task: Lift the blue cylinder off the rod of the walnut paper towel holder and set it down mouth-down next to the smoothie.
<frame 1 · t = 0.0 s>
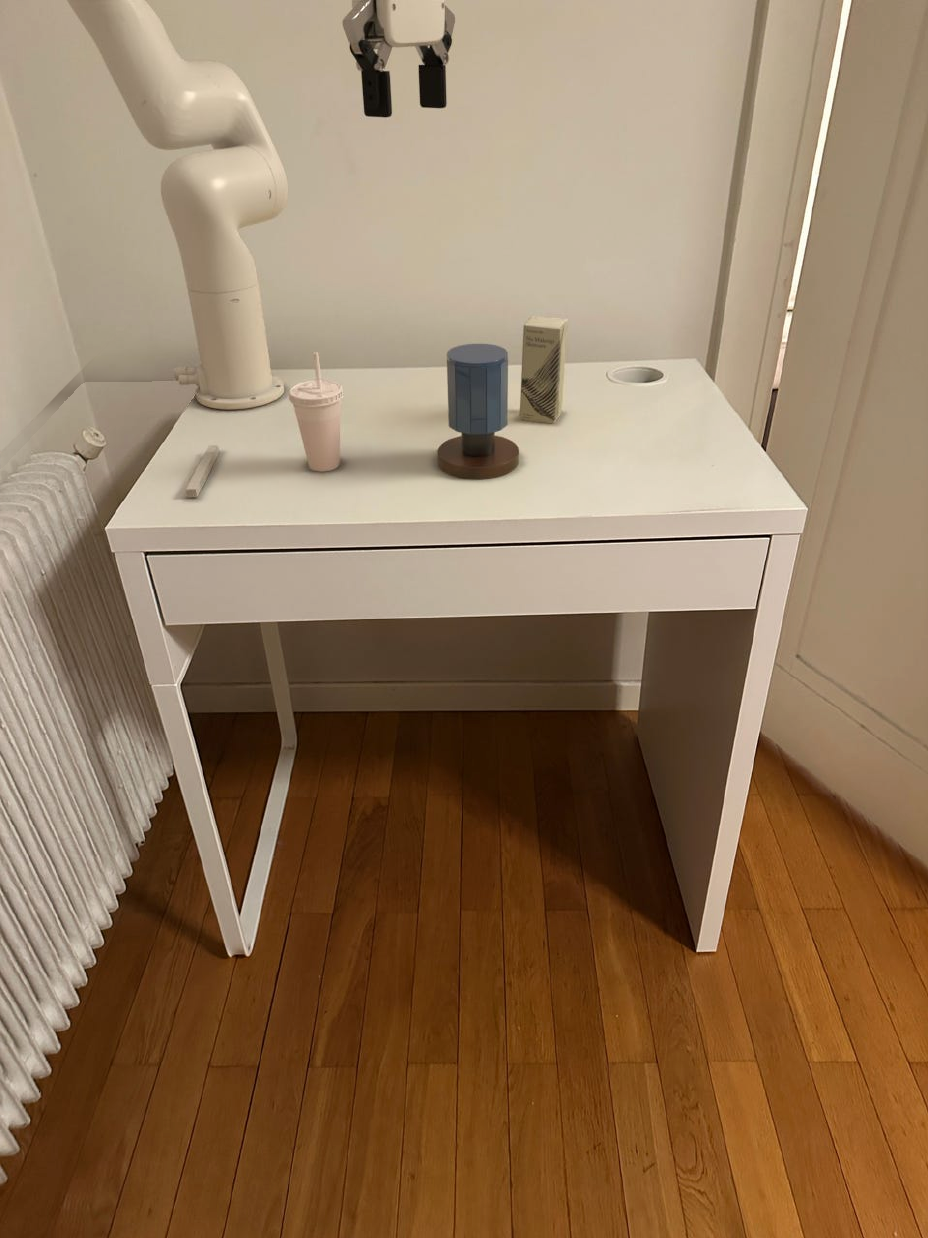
hand: (406, 111, 95), 37 cm above the table, tool pointing down, fingers open, 9 cm apart
box: (541, 417, 123), on the table
smoothie: (324, 466, 111), on the table
grey long thin bar: (204, 475, 109), on the table
blue cylinder: (477, 423, 108), point 5 cm above the table, touching towel holder
towel holder: (478, 461, 111), on the table
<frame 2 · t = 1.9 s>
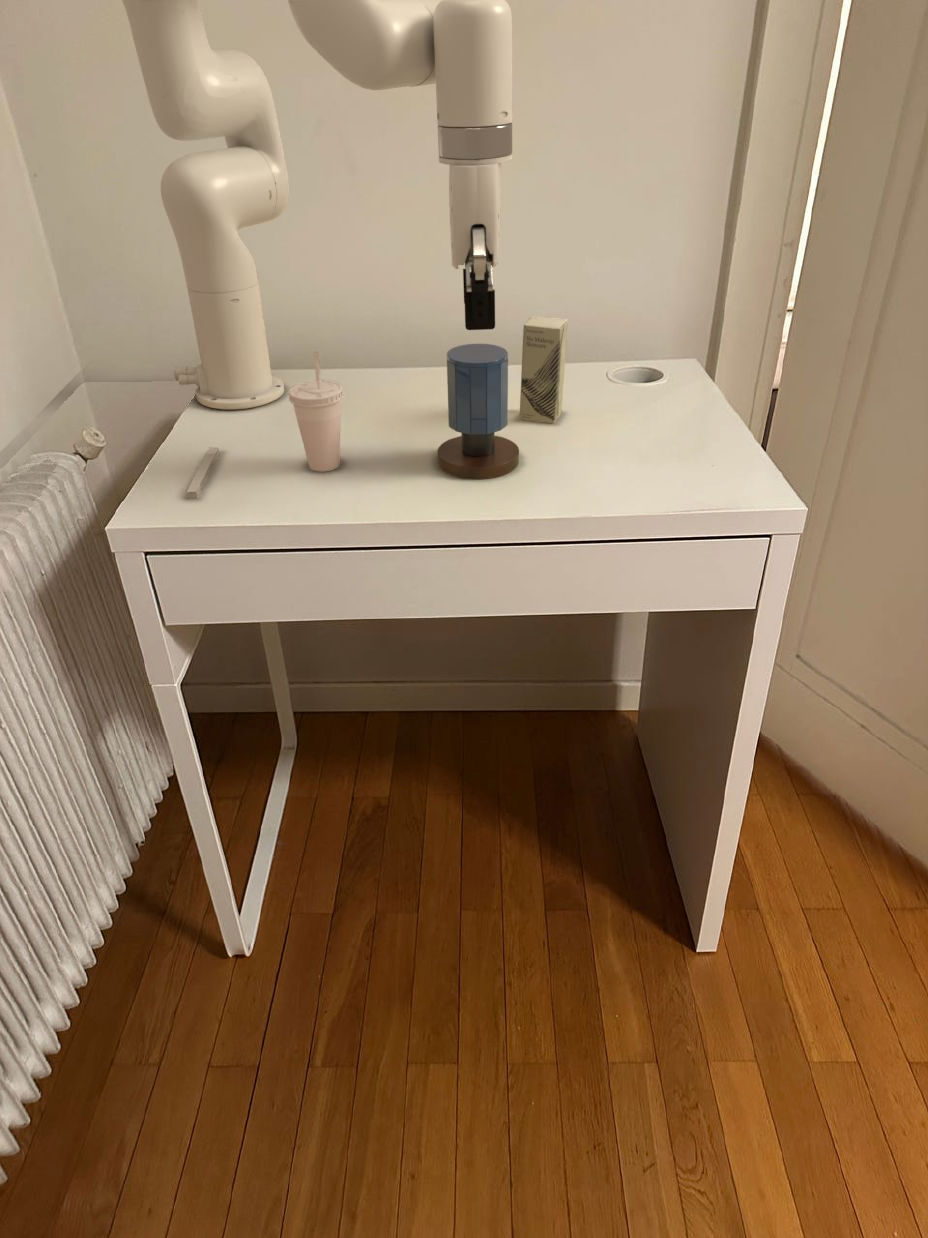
hand: (479, 316, 101), 18 cm above the table, tool pointing down, fingers open, 9 cm apart
nothing on the table moved.
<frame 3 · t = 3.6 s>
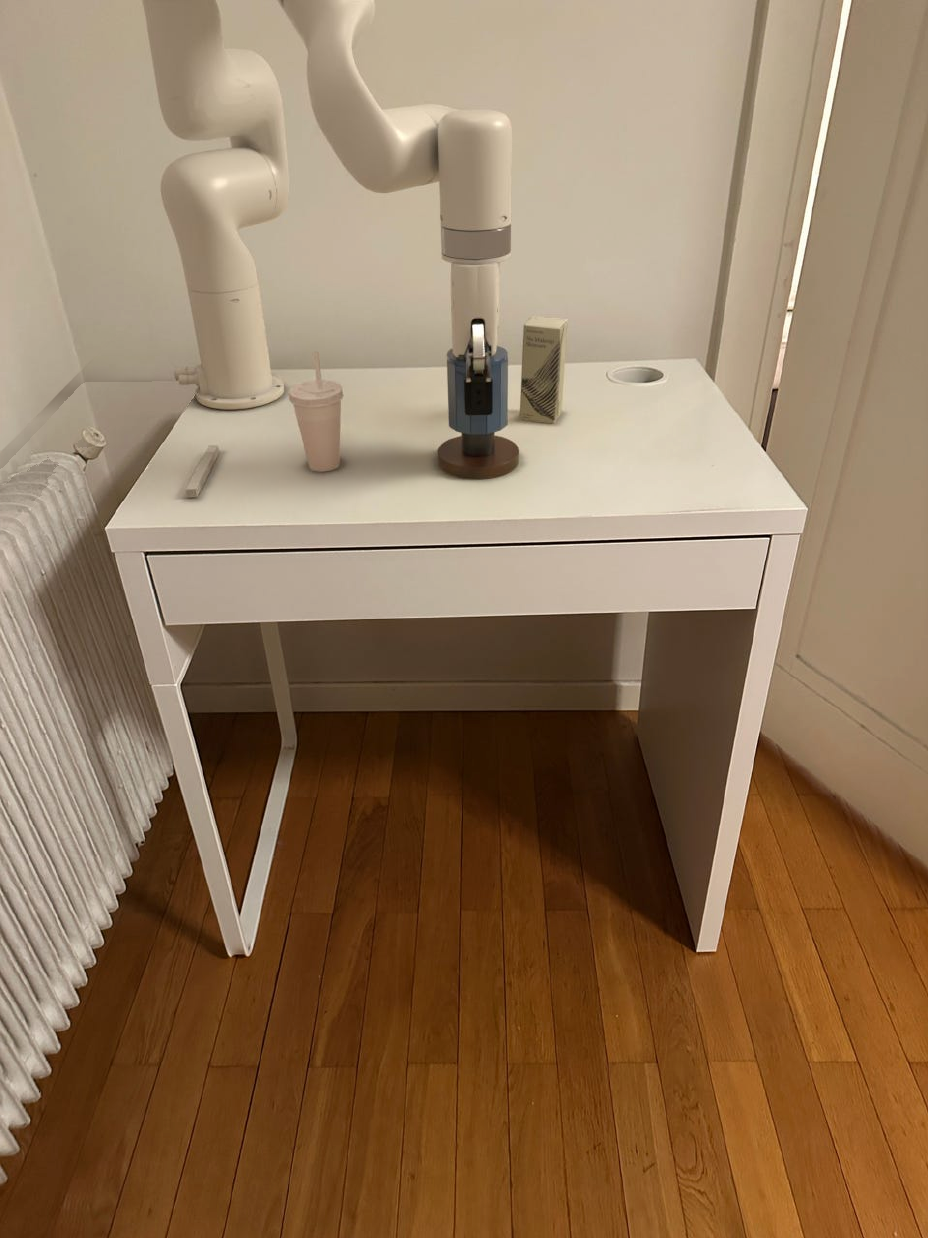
hand: (477, 400, 107), 8 cm above the table, tool pointing down, fingers closed on blue cylinder, 7 cm apart
blue cylinder: (477, 423, 108), point 5 cm above the table, touching gripper, towel holder
everything else where it was.
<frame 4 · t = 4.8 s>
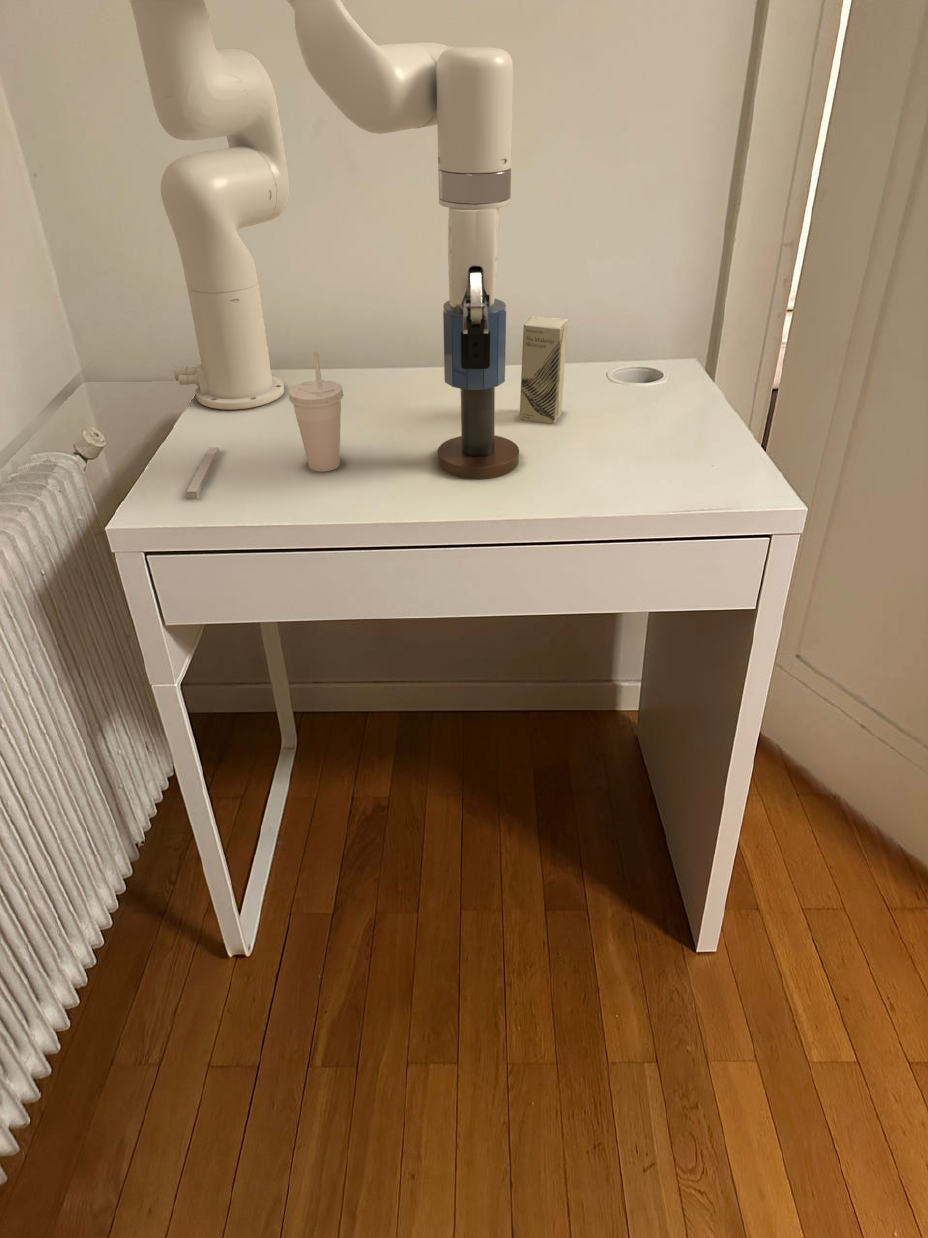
hand: (474, 355, 104), 13 cm above the table, tool pointing down, fingers closed on blue cylinder, 7 cm apart
blue cylinder: (474, 379, 105), point 10 cm above the table, touching gripper
everything else where it was.
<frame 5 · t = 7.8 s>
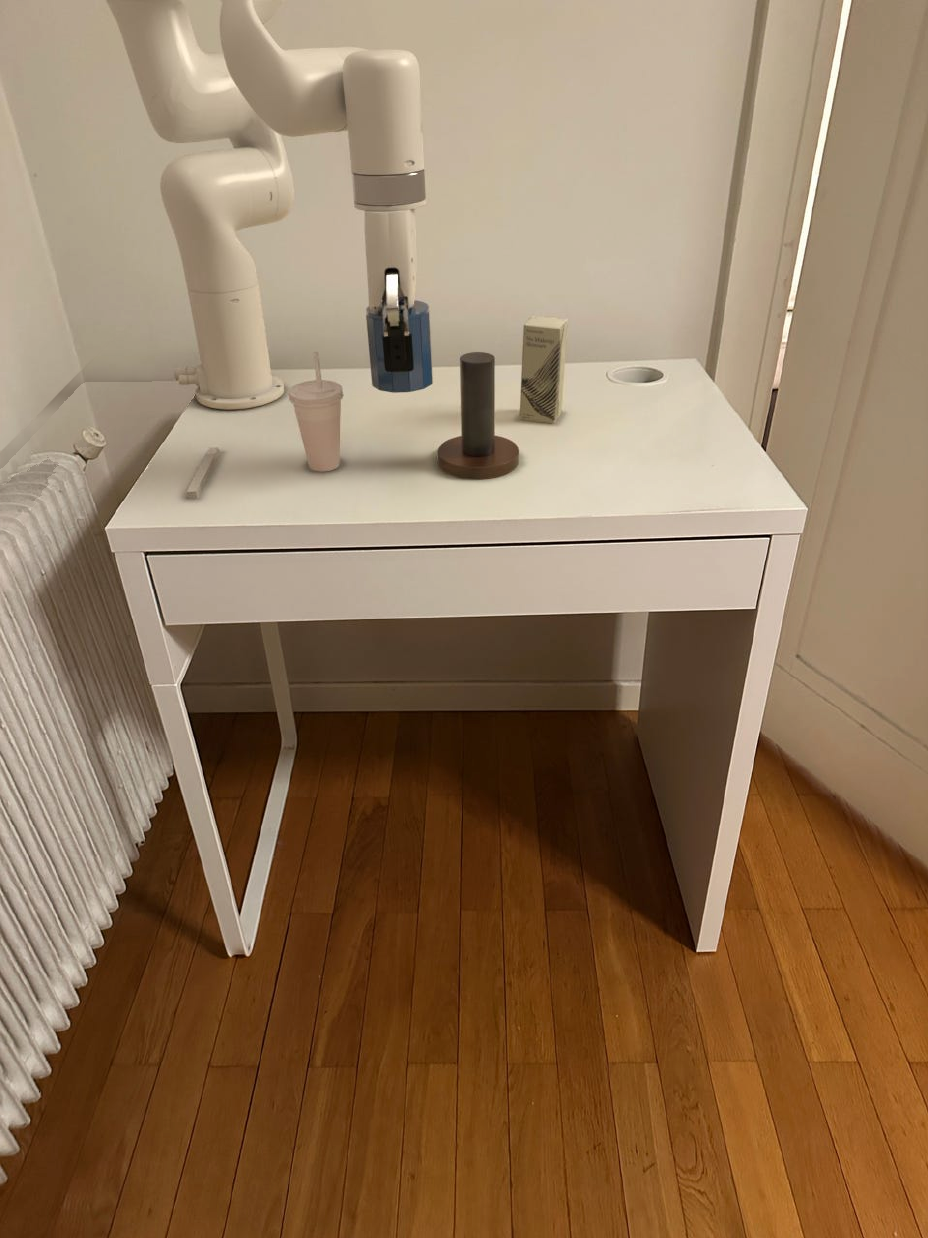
hand: (401, 358, 103), 13 cm above the table, tool pointing down, fingers closed on blue cylinder, 7 cm apart
blue cylinder: (402, 382, 105), point 10 cm above the table, touching gripper
everything else where it was.
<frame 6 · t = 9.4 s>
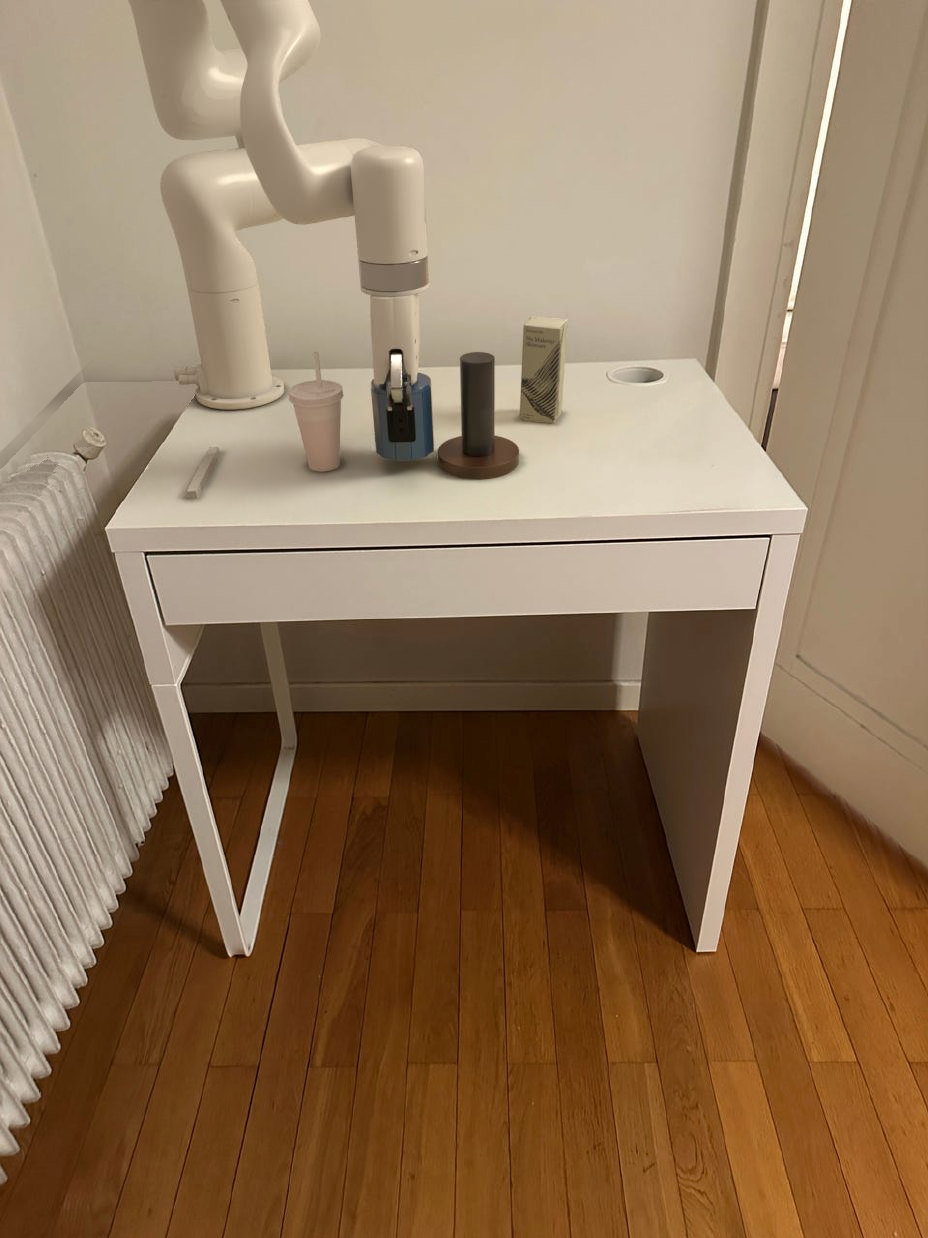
hand: (403, 427, 108), 5 cm above the table, tool pointing down, fingers closed on blue cylinder, 7 cm apart
blue cylinder: (405, 448, 110), point 2 cm above the table, touching gripper
everything else where it was.
when the fingers open (3 cm above the table, at t = 10.6 s): blue cylinder stays where it is, on the table.
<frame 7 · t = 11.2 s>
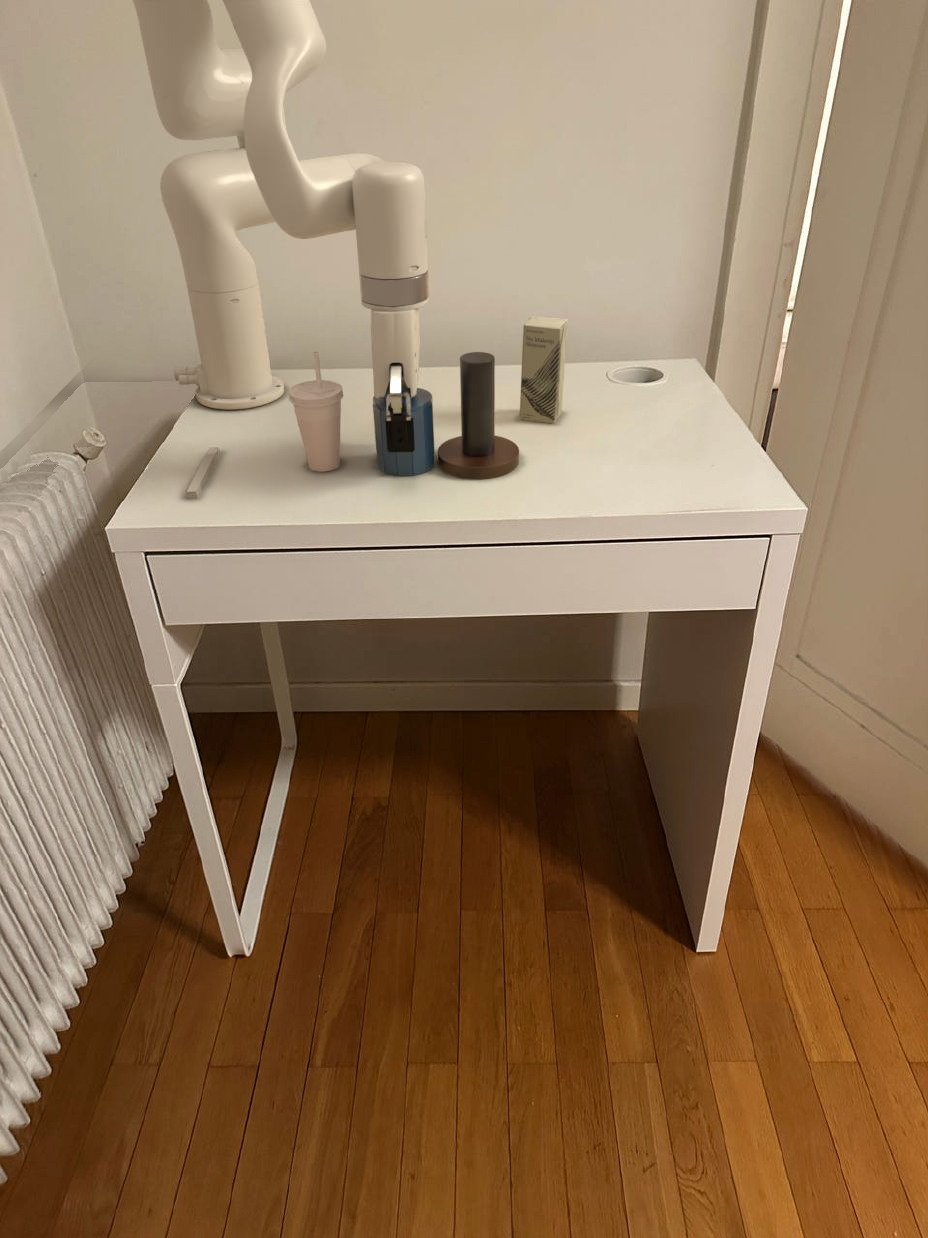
hand: (403, 434, 109), 4 cm above the table, tool pointing down, fingers open, 9 cm apart
blue cylinder: (406, 463, 111), on the table
everything else where it was.
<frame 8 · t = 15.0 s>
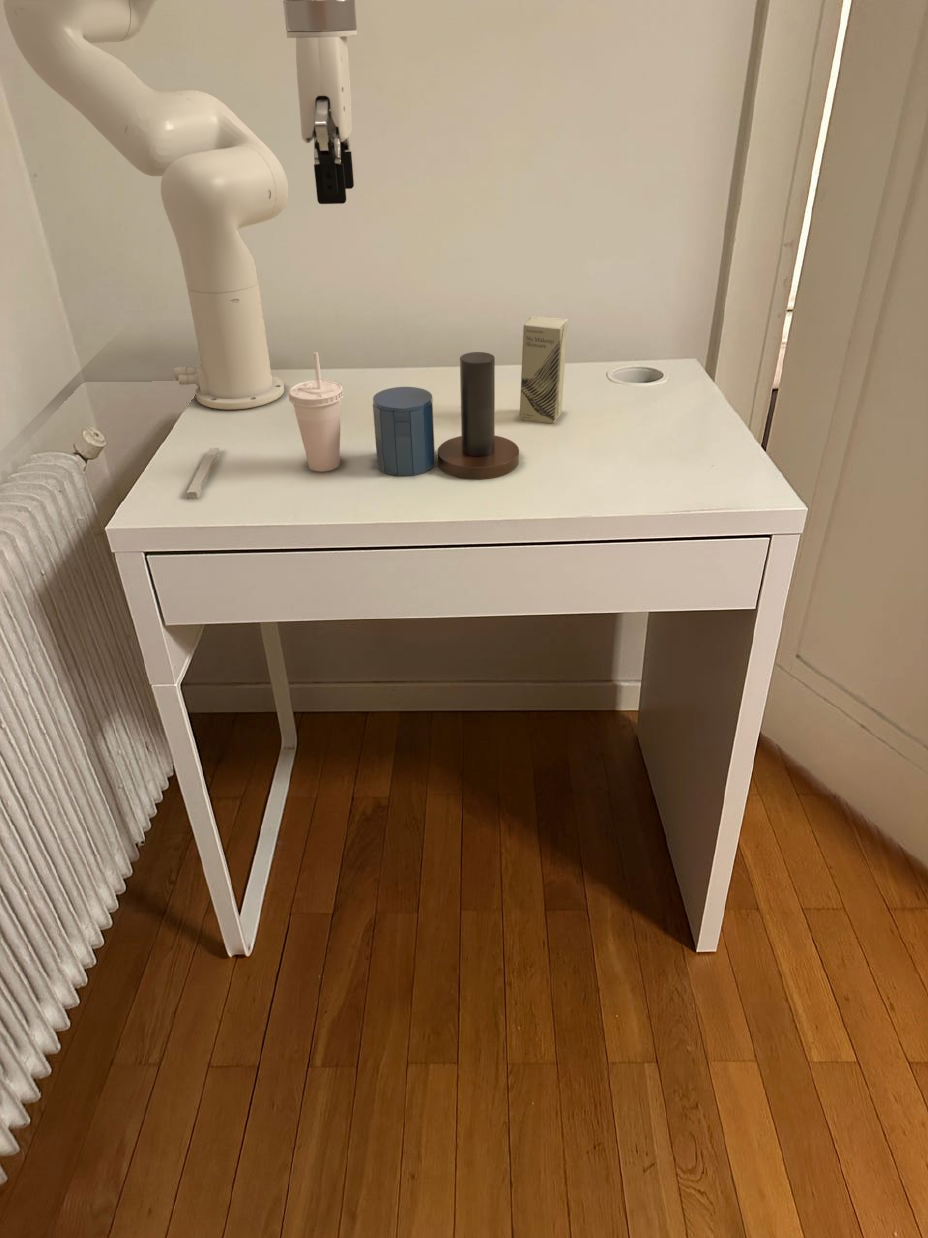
hand: (336, 195, 106), 28 cm above the table, tool pointing down, fingers open, 9 cm apart
nothing on the table moved.
at the end: blue cylinder on the table; blue cylinder 10.1 cm from the smoothie (horizontally); blue cylinder tilted 0° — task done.
